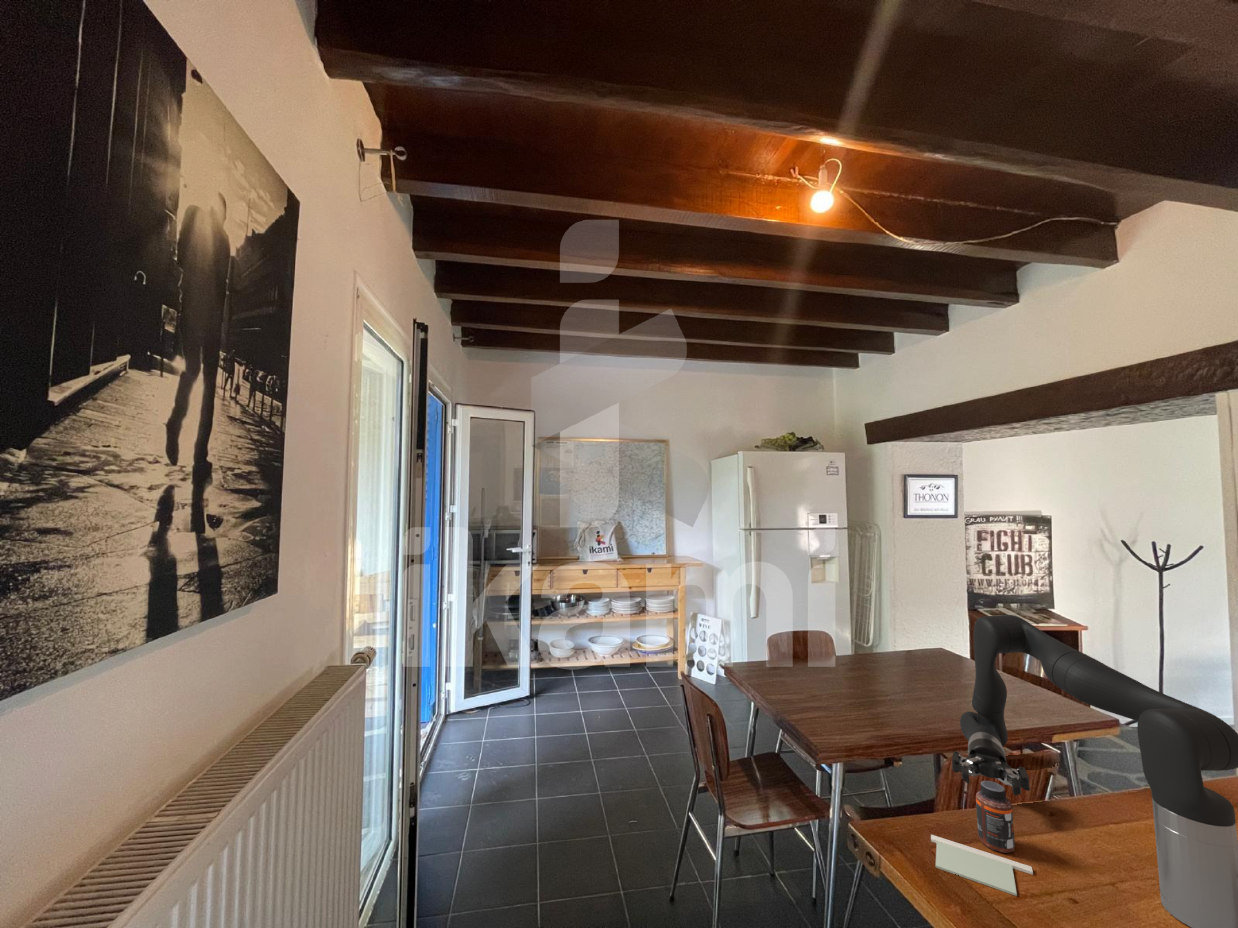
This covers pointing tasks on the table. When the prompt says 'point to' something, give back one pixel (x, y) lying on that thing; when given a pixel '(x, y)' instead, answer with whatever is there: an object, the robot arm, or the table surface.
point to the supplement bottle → (995, 817)
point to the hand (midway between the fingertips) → (990, 784)
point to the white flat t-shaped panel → (977, 865)
